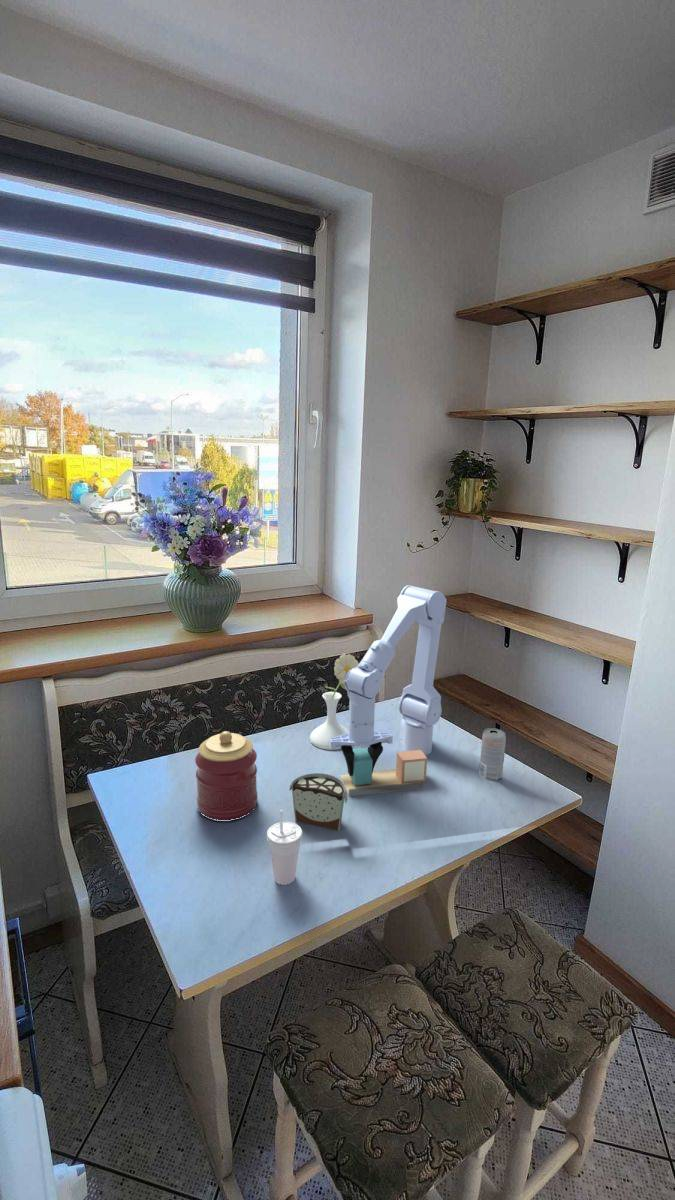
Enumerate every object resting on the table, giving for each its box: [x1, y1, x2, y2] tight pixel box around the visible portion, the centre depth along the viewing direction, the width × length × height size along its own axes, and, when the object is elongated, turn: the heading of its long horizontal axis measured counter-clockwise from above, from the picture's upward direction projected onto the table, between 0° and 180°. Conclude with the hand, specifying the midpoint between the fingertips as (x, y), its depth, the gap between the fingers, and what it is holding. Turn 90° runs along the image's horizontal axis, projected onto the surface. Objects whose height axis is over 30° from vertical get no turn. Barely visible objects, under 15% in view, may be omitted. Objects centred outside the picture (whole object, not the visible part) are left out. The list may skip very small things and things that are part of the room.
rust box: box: [395, 750, 428, 784], centre depth 141 cm, size 4×6×6 cm
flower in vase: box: [309, 653, 360, 751], centre depth 157 cm, size 13×11×25 cm
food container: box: [289, 772, 349, 832], centre depth 126 cm, size 12×6×10 cm, turn 71°
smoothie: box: [266, 809, 303, 886], centre depth 109 cm, size 6×6×14 cm
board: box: [340, 768, 423, 797], centre depth 141 cm, size 9×17×3 cm, turn 103°
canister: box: [194, 730, 258, 820], centre depth 130 cm, size 13×13×18 cm
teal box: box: [351, 747, 373, 785], centre depth 140 cm, size 4×6×6 cm
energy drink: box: [478, 727, 507, 783], centre depth 143 cm, size 5×5×12 cm
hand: (360, 772), depth 141 cm, fingers closed on teal box, 4 cm apart
